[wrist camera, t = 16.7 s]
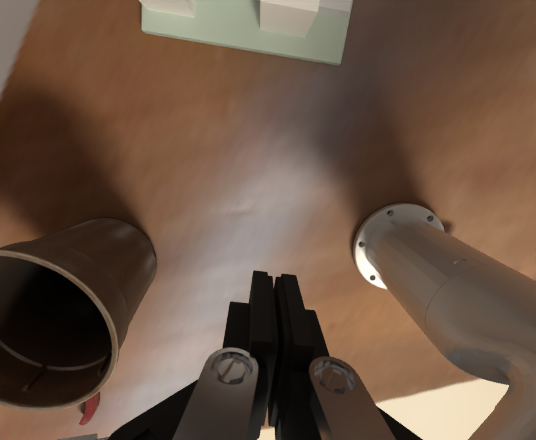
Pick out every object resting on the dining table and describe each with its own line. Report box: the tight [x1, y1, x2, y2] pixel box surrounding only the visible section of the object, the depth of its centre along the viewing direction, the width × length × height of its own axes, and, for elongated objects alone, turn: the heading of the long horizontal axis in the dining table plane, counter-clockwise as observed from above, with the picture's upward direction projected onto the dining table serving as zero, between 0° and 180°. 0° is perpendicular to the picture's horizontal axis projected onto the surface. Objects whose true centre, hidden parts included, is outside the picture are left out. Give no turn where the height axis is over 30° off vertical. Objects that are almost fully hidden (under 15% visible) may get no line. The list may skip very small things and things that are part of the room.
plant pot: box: [0, 218, 157, 411], centre depth 32 cm, size 16×16×16 cm
